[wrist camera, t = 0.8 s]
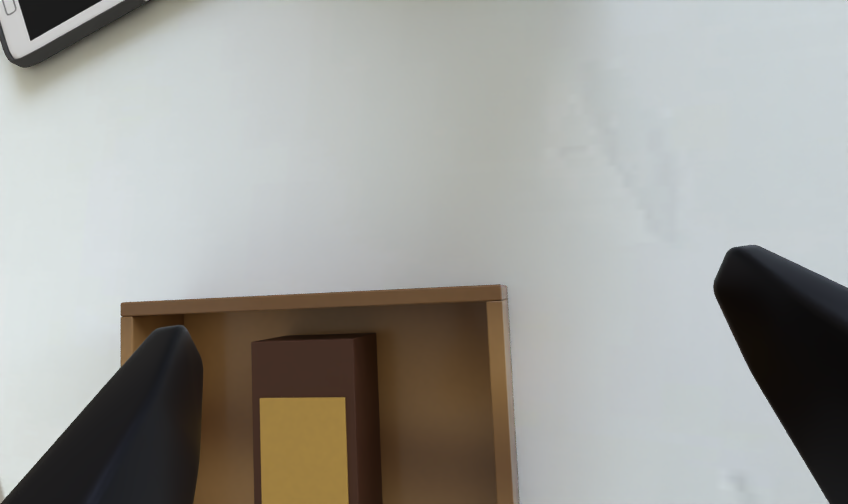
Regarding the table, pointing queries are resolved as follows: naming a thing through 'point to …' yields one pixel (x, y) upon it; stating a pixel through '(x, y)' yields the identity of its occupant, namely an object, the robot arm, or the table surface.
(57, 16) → the cell phone
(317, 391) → the chocolate bar
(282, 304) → the wooden box
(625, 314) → the table surface
